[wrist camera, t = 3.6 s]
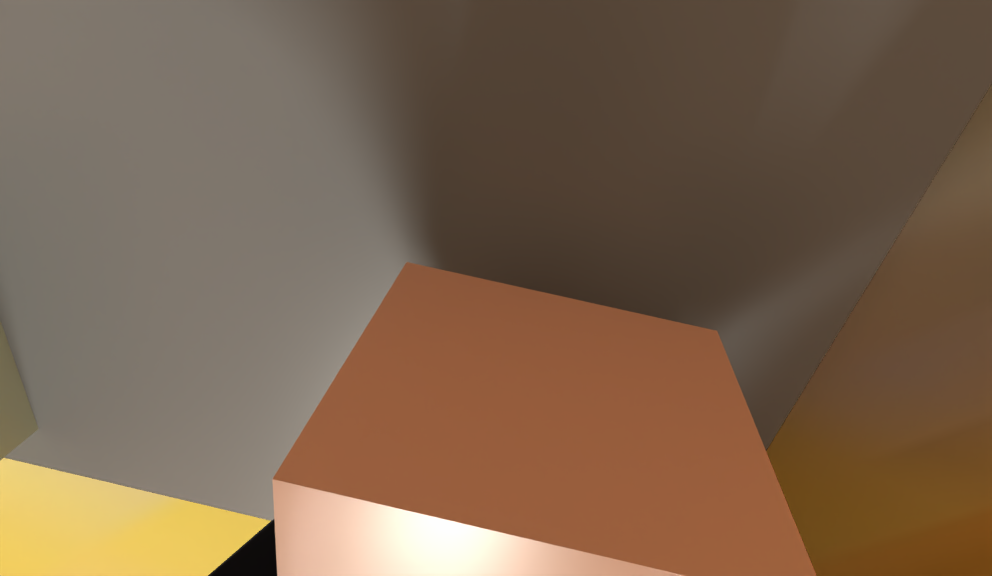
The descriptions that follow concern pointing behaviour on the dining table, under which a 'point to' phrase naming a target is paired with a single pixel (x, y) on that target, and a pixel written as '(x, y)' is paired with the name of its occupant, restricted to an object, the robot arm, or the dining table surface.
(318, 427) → the terracotta brick
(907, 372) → the dining table surface
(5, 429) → the sage brick
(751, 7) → the baseplate
